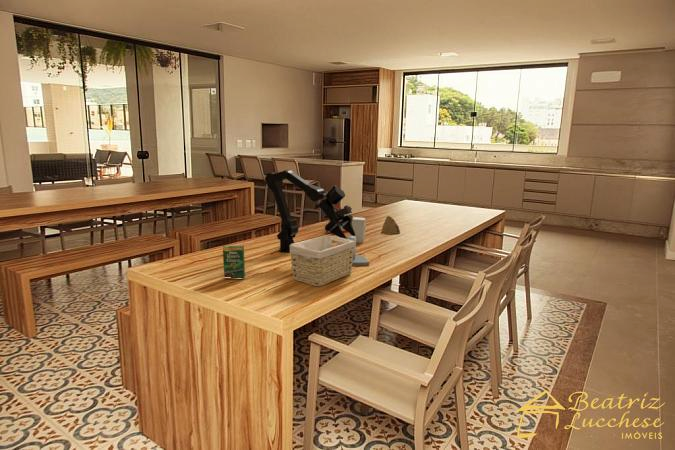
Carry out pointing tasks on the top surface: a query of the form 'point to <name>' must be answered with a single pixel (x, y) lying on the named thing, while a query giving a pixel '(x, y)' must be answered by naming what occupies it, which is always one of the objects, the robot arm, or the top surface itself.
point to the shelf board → (360, 261)
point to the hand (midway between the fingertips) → (350, 237)
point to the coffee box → (234, 261)
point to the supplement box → (359, 228)
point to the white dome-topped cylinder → (354, 244)
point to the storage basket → (321, 259)
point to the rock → (390, 226)
